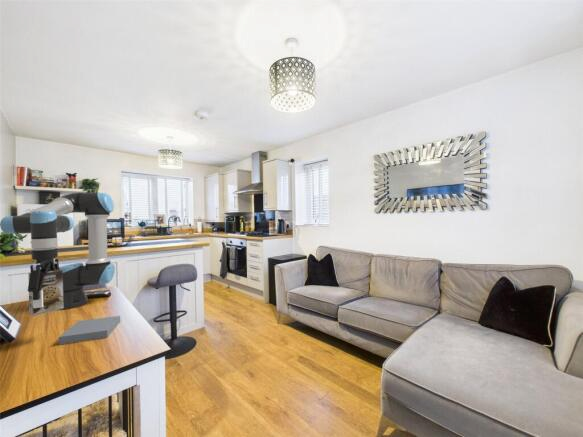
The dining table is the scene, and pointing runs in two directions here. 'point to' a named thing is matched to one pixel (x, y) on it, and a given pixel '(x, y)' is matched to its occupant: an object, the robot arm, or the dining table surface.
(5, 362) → the dining table surface
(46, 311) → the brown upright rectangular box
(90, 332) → the base board
